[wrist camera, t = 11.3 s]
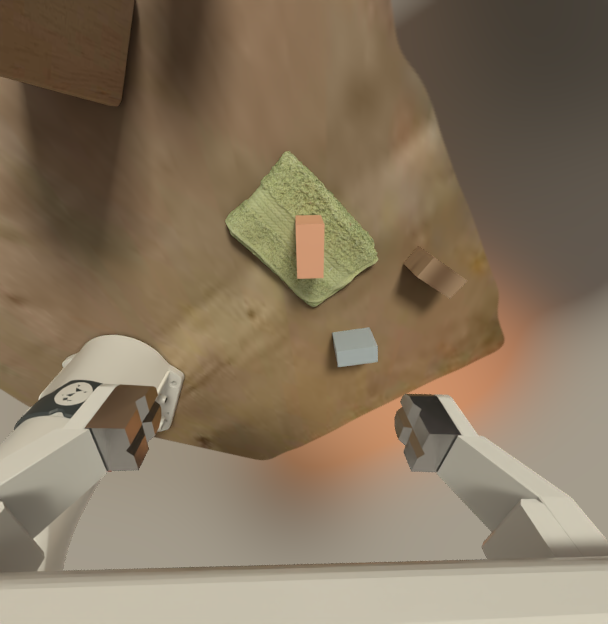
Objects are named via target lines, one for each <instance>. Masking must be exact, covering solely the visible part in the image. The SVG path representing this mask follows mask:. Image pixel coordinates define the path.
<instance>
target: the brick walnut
mask: <svg viewBox="0 0 608 624" xmlns="http://www.w3.org/2000/svg"><path fill="white" fill-rule="evenodd" d="M403 264H404V265H405V266H406V267H407V268H408V269H409V270H410V271H411V272H412V273H413V274H414V275H415V276H416V277H418V278H419V279H421V280H422V281H424V282H425V283H427V284H428V285H430V286H431V287H433V288H434V289H436V290H437V291H439V292H440V293H442V294H443V295H445V296H446V297H448V298H449V299H450V298H451V297H452V296H453V295H454V294H455V293H456V292H457V291H458V290H459V289H460V288H461V287H462V286H463V285H464V284H465V283H466V282H467V280H465V279H464V278H463V277H461V276H460V275H459V274H457V273H456V272H454V271H453V270H452V269H450V268H449V267H447V266H446V265H445V264H443V263H442V262H440V261H439V260H438V259H436V258H435V257H433V256H432V255H431V254H429V253H428V252H426V251H425V250H423V249H422V248H421V247H419V246H418V247H417V248H416V249H415V250H414V251H413V253H412V254H411V255H410V256H409V257H408V259H407V260H406V261H405V262H404V263H403Z"/></svg>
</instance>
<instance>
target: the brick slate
mask: <svg viewBox="0 0 608 624" xmlns="http://www.w3.org/2000/svg"><path fill="white" fill-rule="evenodd" d="M332 334H333V343H334V350H335V354H336V359H337V364H338V367H343V366H351V365H358V364H365V363H373V362H378V346H377V344H376V341H375V339H374V337H373V335H372V332H371V330H370V328H362V329H355V330H348V331H341V332H333V333H332Z"/></svg>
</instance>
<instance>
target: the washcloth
mask: <svg viewBox="0 0 608 624" xmlns="http://www.w3.org/2000/svg"><path fill="white" fill-rule="evenodd" d="M296 215H321V217H322V219H323V222H324V224H325V228H324V278H308V279H297V256H296V219H295V216H296ZM225 222H226V224H227V226H228V228H229V231H230V233H231V235H232V236H233V237H234V238H236V239H237V240H238V241H239V242H241V244H243V245H244V246H245V247H246V249H249V250H250V251H251V252H252V254H254V255H255V256H257V257H258V258H259V259H260V260H261V262H263V263H264V264H265V265H267V267H269V268H270V269H271V270H272V271H273V272H274V273H275V274H276V275H278V276H279V277H280V278H281V280H282V281H285V283H286V284H287V285H288V286H289V288H290V289H291V290H293V292H294V293H295V294H296V295H297V296H298V297H300V298H301V299H302V300H304V302H306V303H307V304H308V305H310V306H312V307H316V306H317V305H319V304H320V303H322V302H323V301H324V300H325V299H327V298H328V297H330V296H332V295H333V294H334V293H336V292H337V291H339V290H340V289H342V288H344V287H345V286H346V285H347V284H348V283H350V282H351V281H352V280H353V278H354V277H355V276H356V275H358V274H359V273H360V272H361V271H363V270H364V269H366V268H367V267H369V266H371V265H373V264H375V263H376V262H377V261H378V257H377V252H376V250H375V249H374V245H375V244H374V241H373V238H372V237H371V236H370V235H369V234H368V232H366V231H365V230H363V229H362V227H361V226H360V224H359V223H358V222H357V221H355V219H354V218H353V217H352V216H351V215H350V214H349V213H348V212H347V210H346V209H345V208H344V207H343V206H342V205H341V203H340V202H339V201H338V200H336V198H334V196H333V194H332V193H331V192H330V191H329V190H326V188H325V186H324V184H323V183H322V182H321V181H319V179H318V178H317V177H316V176H314V174H313V173H312V172H311V171H310V170H309V169H308V168H307V167H305V166H303V164H302V162H300V161H298V159H297V158H296V157H295V156H294V155H293V154H291V153H290V151H289V152H288V151H287V152H284V154H282V157H281V158H279V161H278V162H277V163H276V164H275V166H273V167H272V169H271V170H270V173H269V174H268V175H267V176H265V177H264V178H263V180H261V185H260V187H259V188H258V189H257V190H256V191H255V192H254V193H253V194H252V196H251V197H250V198H249V199H248V200H245V201H244V202H243V203H241V204H240V206H239V207H237V208H236V209H235V210H233V211H232V212H231V213H230V214H229V215H228V216H227V218H226V220H225Z"/></svg>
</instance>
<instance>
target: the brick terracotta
mask: <svg viewBox="0 0 608 624" xmlns="http://www.w3.org/2000/svg"><path fill="white" fill-rule="evenodd" d="M295 219H296V256H297V279H308V278H324V228H325V224H324V222H323V219H322V217H321V215H296V216H295Z"/></svg>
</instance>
